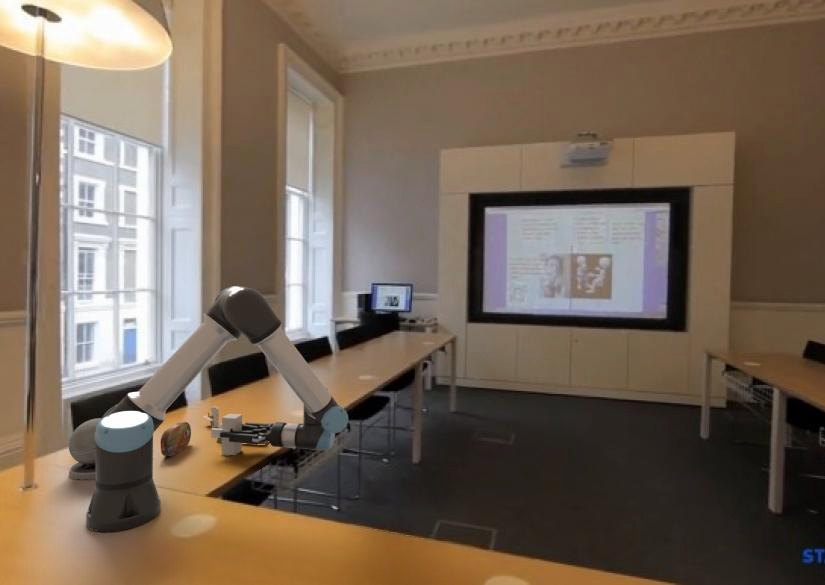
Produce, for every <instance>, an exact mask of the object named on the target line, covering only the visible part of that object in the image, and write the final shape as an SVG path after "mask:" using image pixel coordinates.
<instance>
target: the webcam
mask: <svg viewBox="0 0 825 585" xmlns="http://www.w3.org/2000/svg"><path fill="white" fill-rule="evenodd" d="M101 419H102V417H101V418H100V417H99V418H93V419H89V420H87V421H84V422H82V423H81V424H79V426H78V427H76V428H75V430H74V431H73V432H72V434H71V435H70V437H69V440H68V451H69V453H70V455H71V457H72V458H73V460H75V462H76V463H74V464H72V466H71V467H70V468H69V470H68V471H69V472H68V476H69V477H70V478H71V479H73V480H77V479H89V480H96V441H95V432H96V427H97V424H98V423H99V421H100V420H101Z"/></svg>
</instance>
